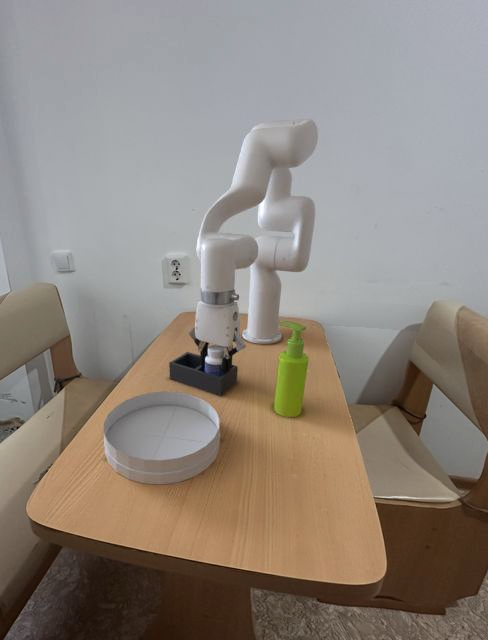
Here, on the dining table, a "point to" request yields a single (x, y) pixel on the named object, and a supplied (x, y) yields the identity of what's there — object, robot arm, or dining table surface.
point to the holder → (201, 374)
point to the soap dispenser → (291, 374)
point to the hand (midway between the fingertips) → (215, 367)
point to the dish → (161, 437)
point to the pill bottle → (214, 360)
